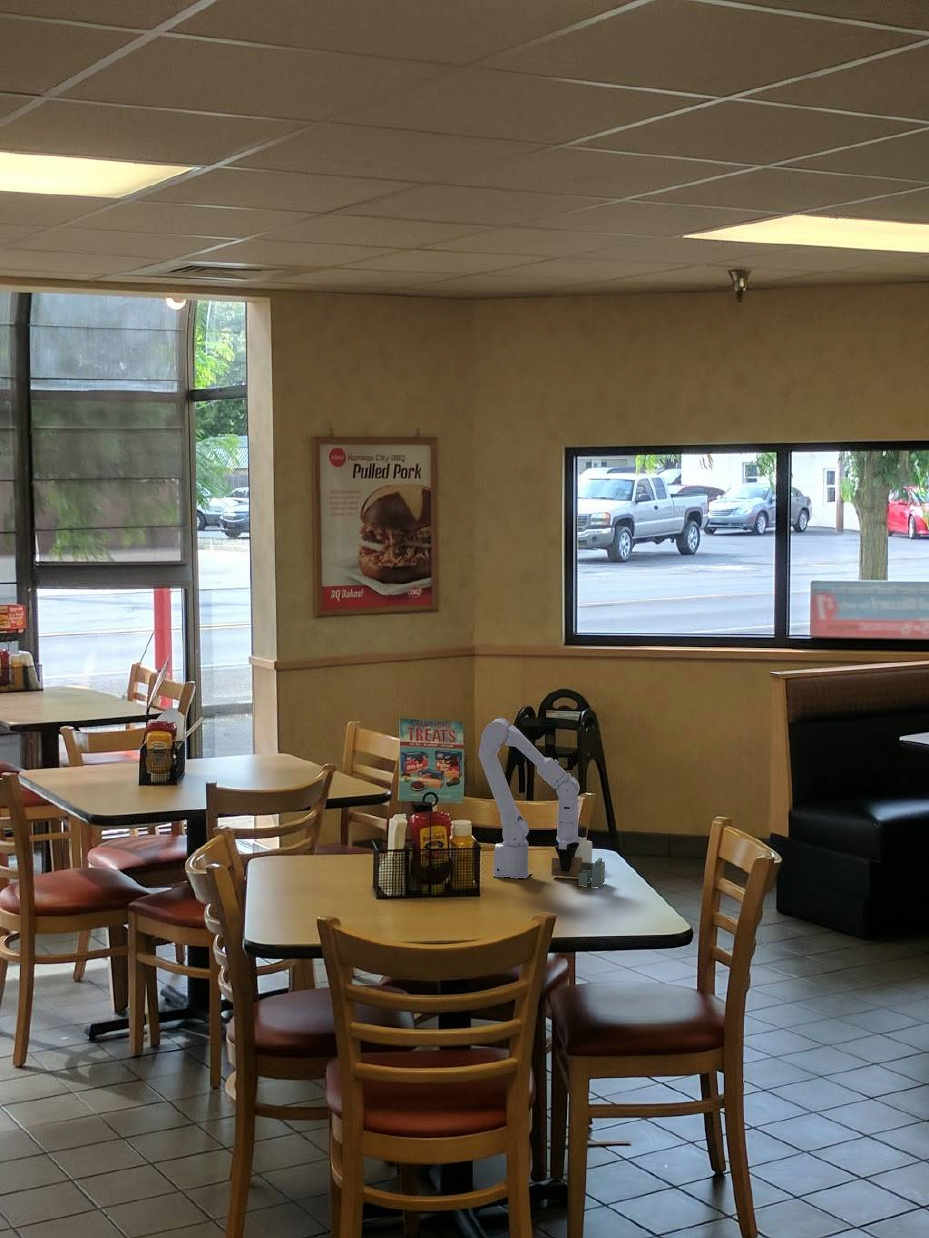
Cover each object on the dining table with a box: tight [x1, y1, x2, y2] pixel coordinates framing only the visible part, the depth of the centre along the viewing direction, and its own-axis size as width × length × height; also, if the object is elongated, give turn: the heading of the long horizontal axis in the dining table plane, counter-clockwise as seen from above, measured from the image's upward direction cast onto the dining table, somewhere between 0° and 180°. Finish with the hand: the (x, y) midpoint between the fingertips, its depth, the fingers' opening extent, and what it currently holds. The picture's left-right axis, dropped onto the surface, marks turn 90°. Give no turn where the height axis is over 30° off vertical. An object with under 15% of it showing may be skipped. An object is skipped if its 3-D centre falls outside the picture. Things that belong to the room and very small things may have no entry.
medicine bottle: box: [575, 823, 593, 863], centre depth 420 cm, size 7×7×12 cm
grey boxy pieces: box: [578, 857, 606, 889], centre depth 396 cm, size 6×7×7 cm
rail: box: [551, 855, 595, 879], centre depth 404 cm, size 12×3×5 cm, turn 75°
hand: (566, 869), depth 404 cm, fingers closed on rail, 3 cm apart
